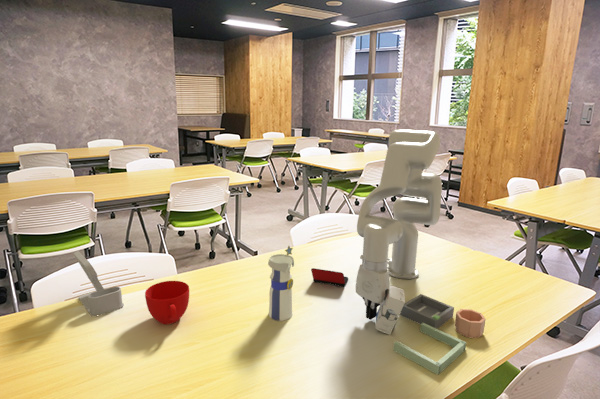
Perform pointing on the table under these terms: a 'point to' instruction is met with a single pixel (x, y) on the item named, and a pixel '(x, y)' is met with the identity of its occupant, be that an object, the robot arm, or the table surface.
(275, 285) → the water bottle
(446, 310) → the tray
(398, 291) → the ink box
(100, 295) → the grey hollow angled piece
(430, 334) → the pale green horseshoe bracket
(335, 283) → the handheld game console
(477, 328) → the cup
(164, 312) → the ceramic cup
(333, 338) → the table surface
